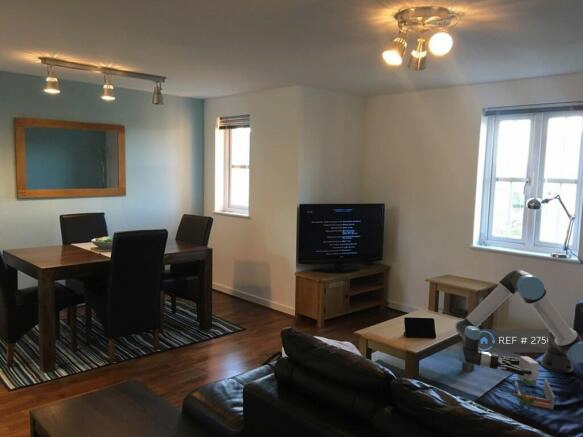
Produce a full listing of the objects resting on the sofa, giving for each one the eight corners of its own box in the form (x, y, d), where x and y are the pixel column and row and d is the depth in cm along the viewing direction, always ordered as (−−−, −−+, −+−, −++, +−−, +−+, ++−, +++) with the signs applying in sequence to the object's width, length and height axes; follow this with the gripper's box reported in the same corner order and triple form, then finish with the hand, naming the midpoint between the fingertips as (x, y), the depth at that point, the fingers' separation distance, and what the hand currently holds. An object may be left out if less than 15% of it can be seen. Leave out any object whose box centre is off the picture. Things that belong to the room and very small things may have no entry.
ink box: (536, 385, 238) (539, 363, 236) (527, 385, 237) (530, 363, 235) (525, 377, 246) (528, 355, 245) (516, 377, 245) (519, 355, 244)
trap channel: (545, 390, 235) (546, 379, 234) (553, 409, 217) (554, 396, 216) (514, 384, 239) (515, 373, 238) (519, 402, 221) (521, 390, 220)
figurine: (537, 412, 213) (539, 395, 212) (507, 404, 218) (509, 388, 217) (537, 409, 216) (539, 392, 214) (508, 401, 221) (510, 385, 220)
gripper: (489, 359, 258) (535, 368, 249) (488, 375, 238) (539, 386, 229) (490, 346, 257) (537, 354, 248) (490, 361, 237) (541, 371, 228)
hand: (538, 369), depth 239 cm, fingers closed on ink box, 9 cm apart
